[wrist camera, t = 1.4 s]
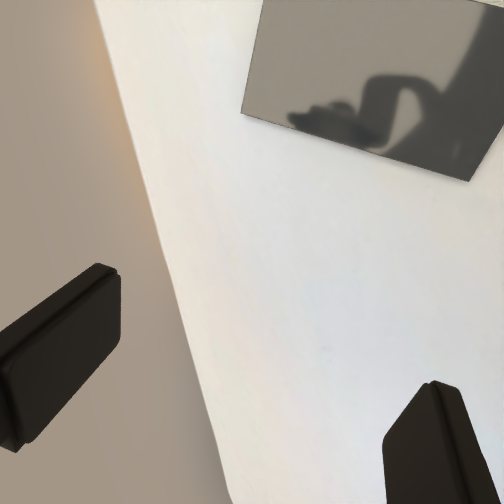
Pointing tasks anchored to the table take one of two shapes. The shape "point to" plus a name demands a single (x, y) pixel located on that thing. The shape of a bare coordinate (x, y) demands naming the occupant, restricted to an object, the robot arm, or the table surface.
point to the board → (384, 77)
